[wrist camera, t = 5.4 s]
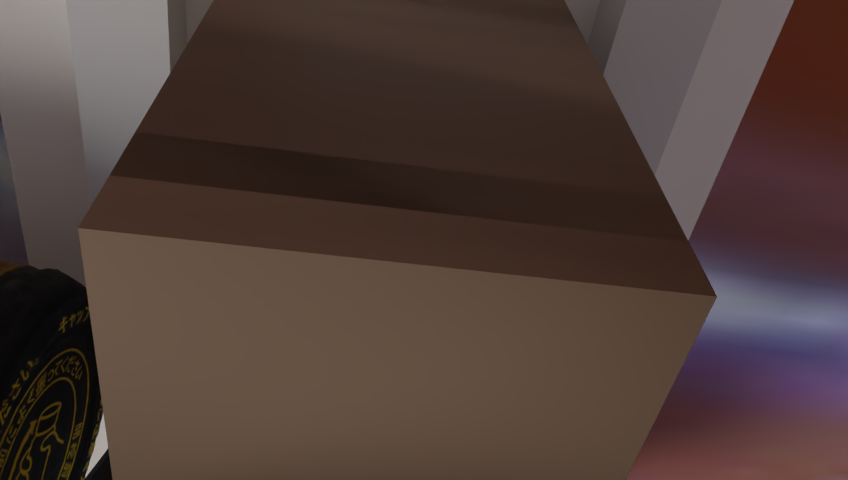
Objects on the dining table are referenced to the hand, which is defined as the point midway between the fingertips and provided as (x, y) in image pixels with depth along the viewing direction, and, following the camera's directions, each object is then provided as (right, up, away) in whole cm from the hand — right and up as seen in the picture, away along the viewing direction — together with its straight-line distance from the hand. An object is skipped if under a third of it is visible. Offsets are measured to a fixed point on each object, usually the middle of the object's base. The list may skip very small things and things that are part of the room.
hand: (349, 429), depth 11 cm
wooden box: (0, +1, +2) cm, 2 cm away
